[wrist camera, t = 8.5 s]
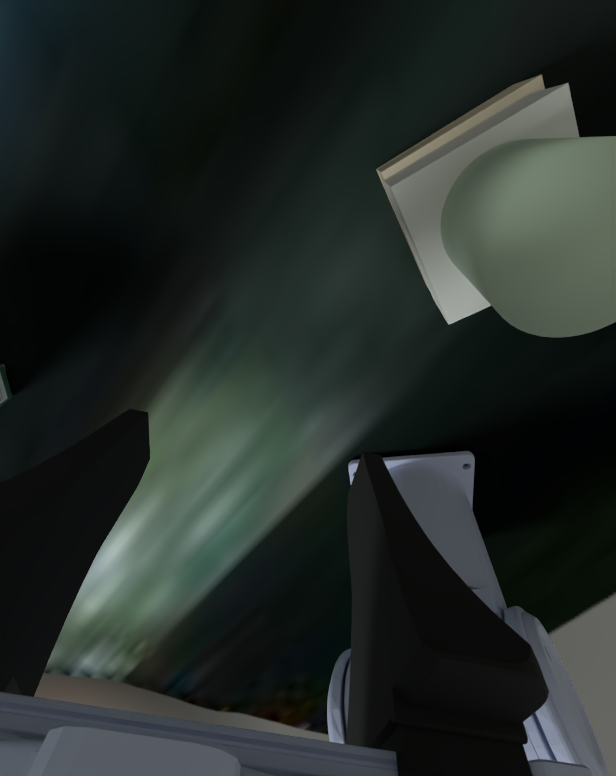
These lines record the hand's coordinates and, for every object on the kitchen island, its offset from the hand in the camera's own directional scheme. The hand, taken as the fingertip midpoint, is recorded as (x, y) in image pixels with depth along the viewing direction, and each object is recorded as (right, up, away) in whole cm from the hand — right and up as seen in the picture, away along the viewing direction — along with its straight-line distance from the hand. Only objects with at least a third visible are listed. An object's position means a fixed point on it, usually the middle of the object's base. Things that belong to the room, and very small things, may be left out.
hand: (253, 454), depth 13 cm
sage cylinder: (+9, +8, 0) cm, 12 cm away
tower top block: (+8, +9, +3) cm, 13 cm away
